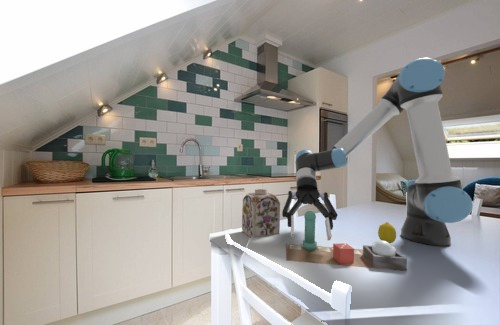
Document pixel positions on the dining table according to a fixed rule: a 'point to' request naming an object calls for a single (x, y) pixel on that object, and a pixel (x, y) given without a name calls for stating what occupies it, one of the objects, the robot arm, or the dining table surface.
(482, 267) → the dining table surface
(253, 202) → the decorative jar
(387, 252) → the dome
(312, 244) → the pawn
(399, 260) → the board
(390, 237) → the lemon
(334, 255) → the red cube
